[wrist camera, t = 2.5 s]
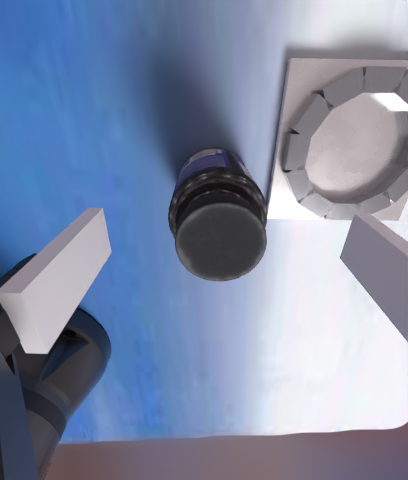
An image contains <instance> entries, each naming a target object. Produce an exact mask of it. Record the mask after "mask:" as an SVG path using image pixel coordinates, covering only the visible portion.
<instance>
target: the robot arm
mask: <svg viewBox="0 0 408 480" xmlns="http://www.w3.org/2000/svg"><path fill="white" fill-rule="evenodd" d="M110 254H111V248H110V243H109V237H108V232H107V227H106V222H105V217H104V211H103V208H87V209H86V210H85V211H84V212H83V213H82V214H81V215H80V216H79V217H77V218H76V219H75V220H74V221H73V222H72V223H71V224H70V225H69V226H68V227H66V228H65V229H64V230H63V231H62V232H61V233H60V234H59V235H58V236H57V237H56V238H54V239H53V240H52V241H51V242H50V243H49V244H48V245H47V246H46V247H45V248H43V249H42V250H41V251H40V252H39V253H38V254H35V253H34V254H32V255H30V256H29V257H27V258H25V259H23V260H21V261H20V262H19V263H18V264H17V265H16V266H14V267H13V269H12V270H10V271H9V272H7V273H6V274H5V276H3V277H2V278H1V279H0V480H44V478H45V476H46V474H47V471H48V469H49V466H50V464H51V461H52V459H53V457H54V454H55V452H56V449H57V447H58V444H59V441H60V439H61V437H62V434H63V432H64V430H65V428H66V425H67V423H68V421H69V419H70V418H71V417H72V415H73V414H74V413H75V411H76V410H77V409H78V407H79V406H80V405H81V403H82V402H83V401H84V400H85V398H86V397H87V396H88V394H89V393H90V392H91V390H92V389H93V388H94V386H95V385H96V384H97V383H98V381H99V380H100V379H101V377H102V375H103V374H104V372H105V369H106V366H107V364H108V361H109V358H110V355H111V344H110V341H109V338H108V336H107V334H106V333H105V331H104V330H103V328H102V327H101V326H100V325H99V324H98V323H97V322H96V321H95V320H94V319H92V318H91V317H90V316H88V315H87V314H86V313H84V312H82V311H80V310H79V309H77V306H78V305H79V303H80V301H81V300H82V298H83V297H84V295H85V294H86V292H87V290H88V289H89V287H90V286H91V284H92V282H93V281H94V279H95V278H96V276H97V275H98V273H99V271H100V270H101V268H102V267H103V265H104V263H105V262H106V260H107V259H108V257H109V256H110ZM340 259H341V260H342V261H343V262H344V264H345V265H346V266H347V267H348V269H349V270H350V271H351V272H352V274H353V275H354V276H355V277H356V279H357V280H358V281H359V282H360V283H361V285H362V286H363V287H364V288H365V290H366V291H367V292H368V293H369V295H370V296H371V297H372V298H373V300H374V301H375V302H376V303H377V304H378V306H379V307H380V308H381V309H382V311H383V312H384V313H385V314H386V316H387V317H388V318H389V319H390V321H391V322H392V323H393V324H394V326H395V327H396V328H397V329H398V330H399V332H400V333H401V334H402V335H403V337H404V338H405V339H406V340H407V342H408V242H407V241H406V240H405V239H403V238H402V237H400V236H399V235H398V234H396V233H395V232H394V231H392V230H391V229H390V228H388V227H387V226H385V225H384V224H383V223H381V222H380V221H379V220H377V219H376V218H374V217H373V216H372V215H370V214H354V217H353V220H352V223H351V226H350V229H349V232H348V235H347V238H346V241H345V244H344V247H343V250H342V253H341V256H340Z"/></svg>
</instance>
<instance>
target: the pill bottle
mask: <svg viewBox="0 0 408 480" xmlns="http://www.w3.org/2000/svg"><path fill="white" fill-rule="evenodd" d="M168 214H169V215H168V220H169V227H170V230H171V232H172V235H173V237H174V238H175V247H176V252H177V255H178V257H179V259H180V261H181V263H182V264H183V266H185V268H186V269H187V270H188V271H190V272H191V273H192V274H194V275H196V276H198V277H200V278H203V279H206V280H211V281H228V280H232V279H236V278H239V277H240V276H242V275H245V274H247V273H249V272H250V271H251V270H252V269H253V268H255V266H256V265H257V264H258V263H259V262H260V260H261V258H262V257H263V255H264V252H265V249H266V243H267V238H266V230H265V227H266V223H267V206H266V202H265V199H264V197H263V194H262V193H261V191H260V189H259V187H258V186H257V184H256V183H255V181H254V180H253V178H252V177H251V175H250V173H249V172H248V170H247V169H246V167H245V165H244V163H243V162H242V161H241V160H240V159H239V158H238V157H237V156H236V155H234V154H232V153H231V152H230V151H227V150H225V149H221V148H206V149H203V150H201V151H199V152H197V153H195V154H193V155H191V156H190V157H189V158H188V159H187V160H186V161H185V163H184V165H183V166H182V168H181V171H180V173H179V176H178V180H177V183H176V186H175V190H174V193H173V196H172V199H171V203H170V207H169V213H168Z"/></svg>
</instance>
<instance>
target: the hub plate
mask: <svg viewBox="0 0 408 480" xmlns="http://www.w3.org/2000/svg"><path fill="white" fill-rule="evenodd" d="M407 199H408V60H375V59H323V58H290V59H288V64H287V71H286V78H285V84H284V91H283V98H282V105H281V112H280V119H279V126H278V133H277V140H276V147H275V153H274V160H273V167H272V174H271V181H270V188H269V195H268V202H267V218H272V219H325V220H353V217H354V214H370V215H372V216H373V217H374V218H376V219H377V220H399V218H400V215H401V213H402V210H403V208H404V206H405V203H406V201H407Z"/></svg>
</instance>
